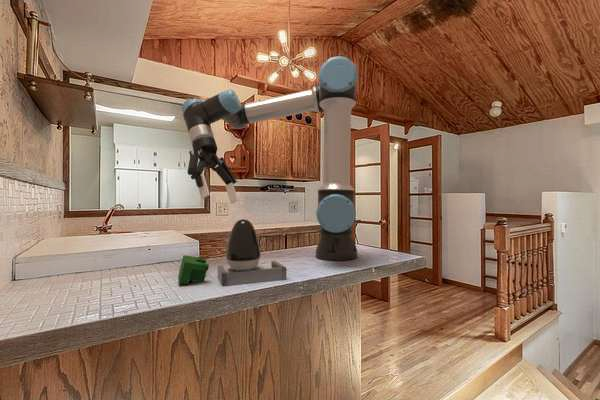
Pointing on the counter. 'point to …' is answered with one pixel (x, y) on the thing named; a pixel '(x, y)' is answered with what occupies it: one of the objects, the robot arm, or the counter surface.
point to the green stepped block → (192, 269)
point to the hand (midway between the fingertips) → (221, 199)
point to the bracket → (252, 275)
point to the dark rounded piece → (243, 247)
